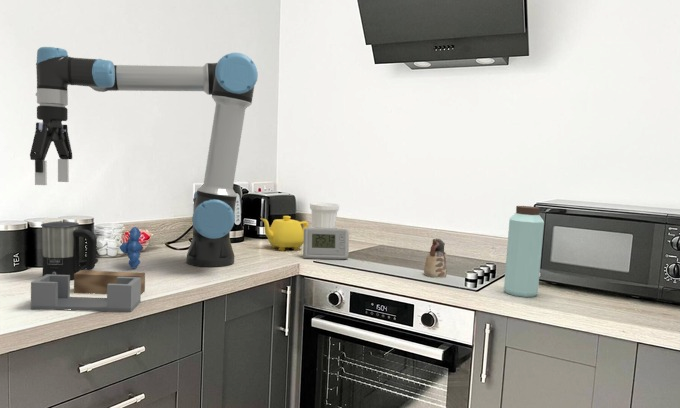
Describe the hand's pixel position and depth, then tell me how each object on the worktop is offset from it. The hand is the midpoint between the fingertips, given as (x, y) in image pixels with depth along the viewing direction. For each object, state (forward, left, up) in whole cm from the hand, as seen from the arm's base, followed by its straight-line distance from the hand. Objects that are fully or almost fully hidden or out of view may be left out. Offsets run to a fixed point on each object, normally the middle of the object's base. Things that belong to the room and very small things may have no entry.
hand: (52, 183), depth 157 cm
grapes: (-19, -9, -25) cm, 33 cm away
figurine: (-113, -12, -25) cm, 116 cm away
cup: (-80, -73, -25) cm, 111 cm away
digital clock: (-79, -34, -25) cm, 90 cm away
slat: (-22, +20, -25) cm, 39 cm away
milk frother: (-6, +2, -25) cm, 26 cm away
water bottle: (-133, +8, -25) cm, 135 cm away
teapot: (-64, -50, -25) cm, 85 cm away
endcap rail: (-21, +32, -25) cm, 46 cm away
